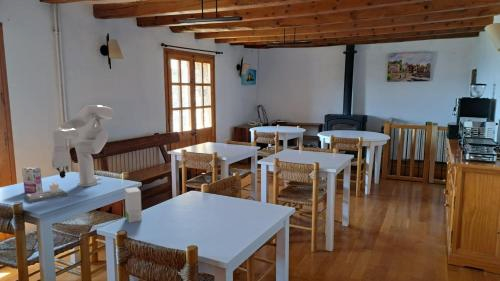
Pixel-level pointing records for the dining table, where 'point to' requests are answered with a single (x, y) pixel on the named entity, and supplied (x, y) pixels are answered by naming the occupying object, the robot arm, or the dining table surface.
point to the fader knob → (54, 187)
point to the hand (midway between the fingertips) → (62, 177)
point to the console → (44, 195)
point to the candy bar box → (32, 180)
